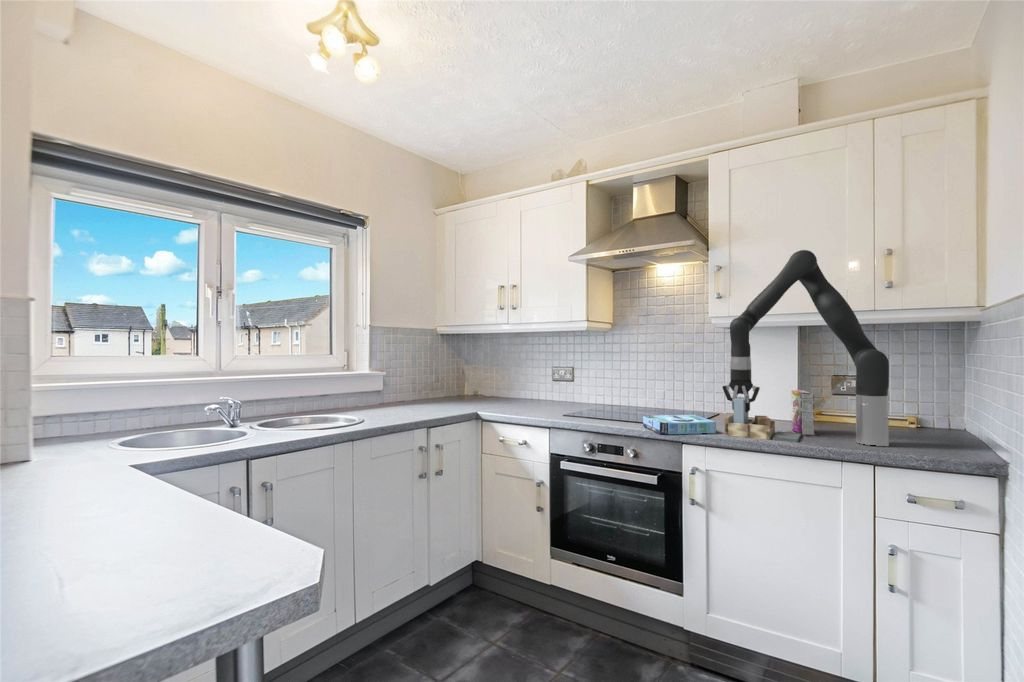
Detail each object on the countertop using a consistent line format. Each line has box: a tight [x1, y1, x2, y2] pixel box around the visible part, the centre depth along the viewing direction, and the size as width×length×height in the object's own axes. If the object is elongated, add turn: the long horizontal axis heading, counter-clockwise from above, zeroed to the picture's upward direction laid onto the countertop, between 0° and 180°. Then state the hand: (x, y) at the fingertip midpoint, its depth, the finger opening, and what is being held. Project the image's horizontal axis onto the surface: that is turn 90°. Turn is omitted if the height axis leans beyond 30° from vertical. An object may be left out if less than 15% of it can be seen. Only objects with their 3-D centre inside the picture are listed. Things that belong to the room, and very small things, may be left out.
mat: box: [772, 431, 802, 443], centre depth 189 cm, size 8×14×1 cm, turn 146°
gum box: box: [642, 414, 717, 435], centre depth 207 cm, size 20×5×23 cm
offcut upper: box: [754, 415, 771, 426], centre depth 193 cm, size 4×8×4 cm, turn 164°
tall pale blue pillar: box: [733, 396, 750, 424], centre depth 198 cm, size 4×11×14 cm, turn 146°
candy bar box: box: [790, 389, 815, 436], centre depth 199 cm, size 11×5×16 cm, turn 168°
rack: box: [724, 412, 776, 441], centre depth 196 cm, size 16×15×7 cm
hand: (741, 411), depth 198 cm, fingers closed on tall pale blue pillar, 3 cm apart
